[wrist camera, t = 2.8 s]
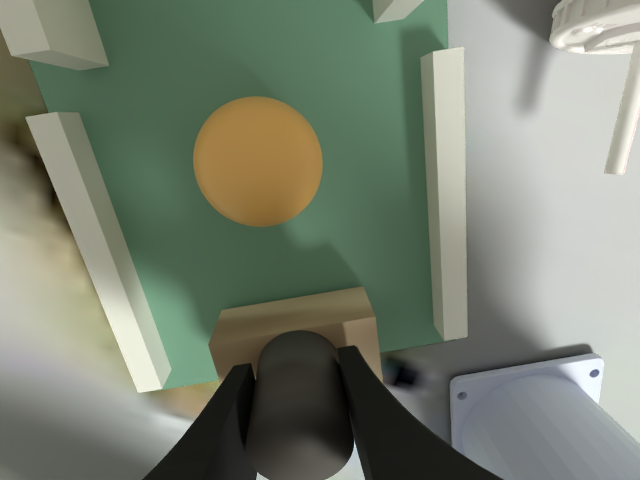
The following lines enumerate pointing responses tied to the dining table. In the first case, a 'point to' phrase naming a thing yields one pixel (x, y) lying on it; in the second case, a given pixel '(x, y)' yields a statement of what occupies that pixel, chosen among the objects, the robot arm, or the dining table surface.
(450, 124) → the pitch
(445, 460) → the robot arm
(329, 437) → the striker
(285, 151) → the ball
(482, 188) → the dining table surface
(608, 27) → the smoothie
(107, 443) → the dining table surface
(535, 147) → the dining table surface
